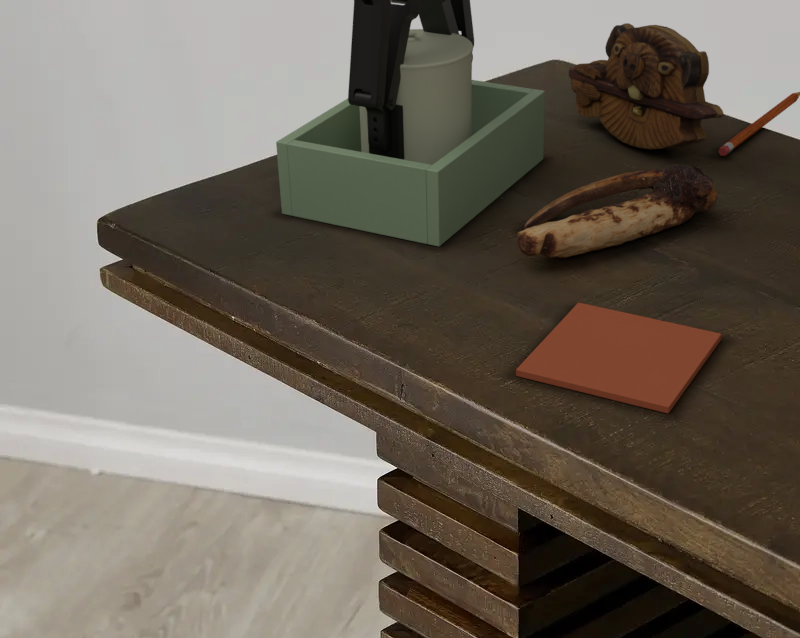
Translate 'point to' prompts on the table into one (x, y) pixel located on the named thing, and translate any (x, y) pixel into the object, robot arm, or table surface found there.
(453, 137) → the can
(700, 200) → the lashed bone hook
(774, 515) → the table surface
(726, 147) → the pencil
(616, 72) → the wooden carving
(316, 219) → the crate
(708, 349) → the mat
